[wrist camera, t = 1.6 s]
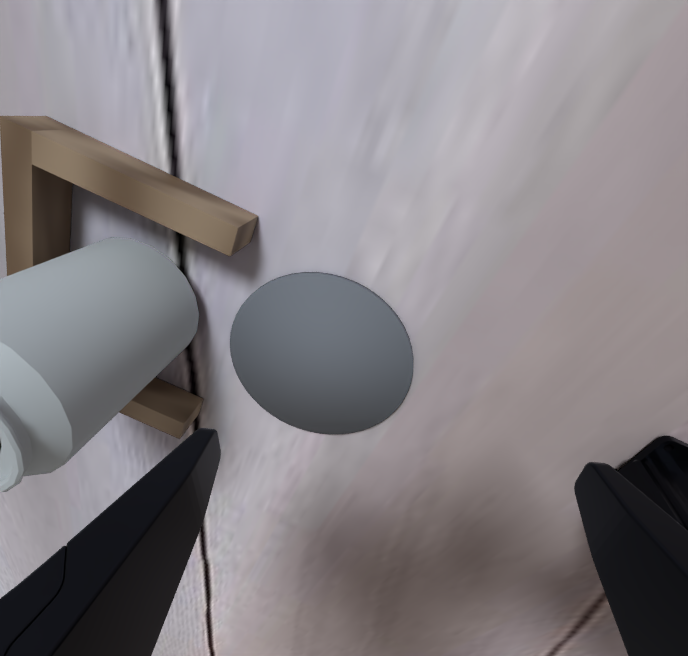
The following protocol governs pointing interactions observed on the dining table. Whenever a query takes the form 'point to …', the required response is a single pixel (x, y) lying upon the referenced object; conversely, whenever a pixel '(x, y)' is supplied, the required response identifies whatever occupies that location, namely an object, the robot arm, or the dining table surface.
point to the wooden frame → (121, 188)
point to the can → (83, 347)
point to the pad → (322, 353)
